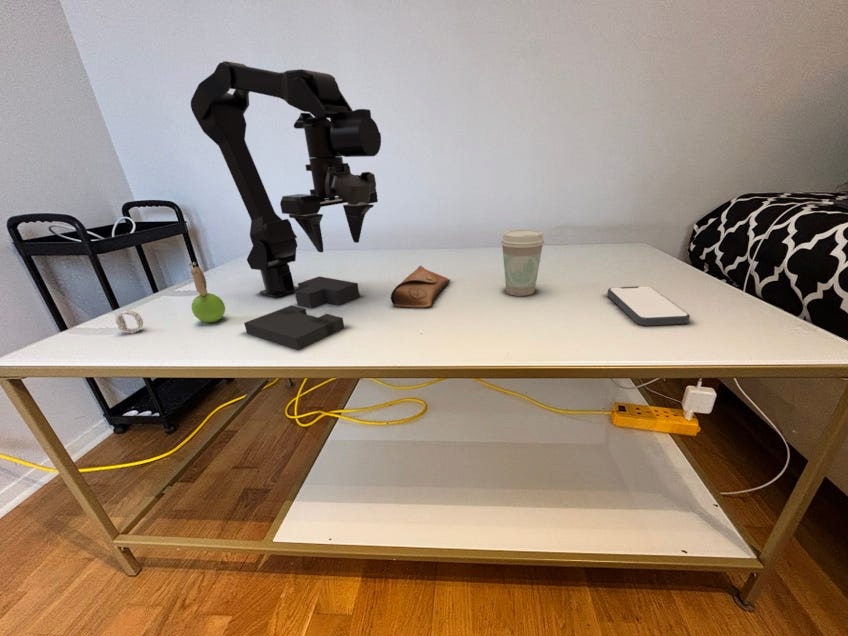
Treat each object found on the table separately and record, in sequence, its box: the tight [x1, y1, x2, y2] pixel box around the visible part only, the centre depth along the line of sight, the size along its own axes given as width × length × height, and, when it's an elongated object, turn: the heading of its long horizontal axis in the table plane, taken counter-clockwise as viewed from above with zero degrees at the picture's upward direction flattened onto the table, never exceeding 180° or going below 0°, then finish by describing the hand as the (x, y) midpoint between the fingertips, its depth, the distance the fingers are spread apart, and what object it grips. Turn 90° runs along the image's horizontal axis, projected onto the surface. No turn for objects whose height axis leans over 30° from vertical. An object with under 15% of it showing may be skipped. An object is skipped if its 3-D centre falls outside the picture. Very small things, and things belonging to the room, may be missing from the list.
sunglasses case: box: [390, 265, 451, 309], centre depth 87 cm, size 18×7×7 cm
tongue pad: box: [294, 276, 361, 309], centre depth 87 cm, size 12×10×3 cm
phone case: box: [606, 285, 691, 327], centre depth 74 cm, size 9×2×16 cm
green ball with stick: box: [187, 261, 226, 323], centre depth 75 cm, size 5×6×12 cm
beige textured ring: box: [114, 309, 144, 334], centre depth 74 cm, size 4×2×4 cm, turn 104°
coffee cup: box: [500, 229, 545, 297], centre depth 83 cm, size 9×9×12 cm
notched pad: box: [243, 305, 345, 351], centre depth 72 cm, size 14×10×2 cm
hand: (339, 247), depth 80 cm, fingers open, 9 cm apart
